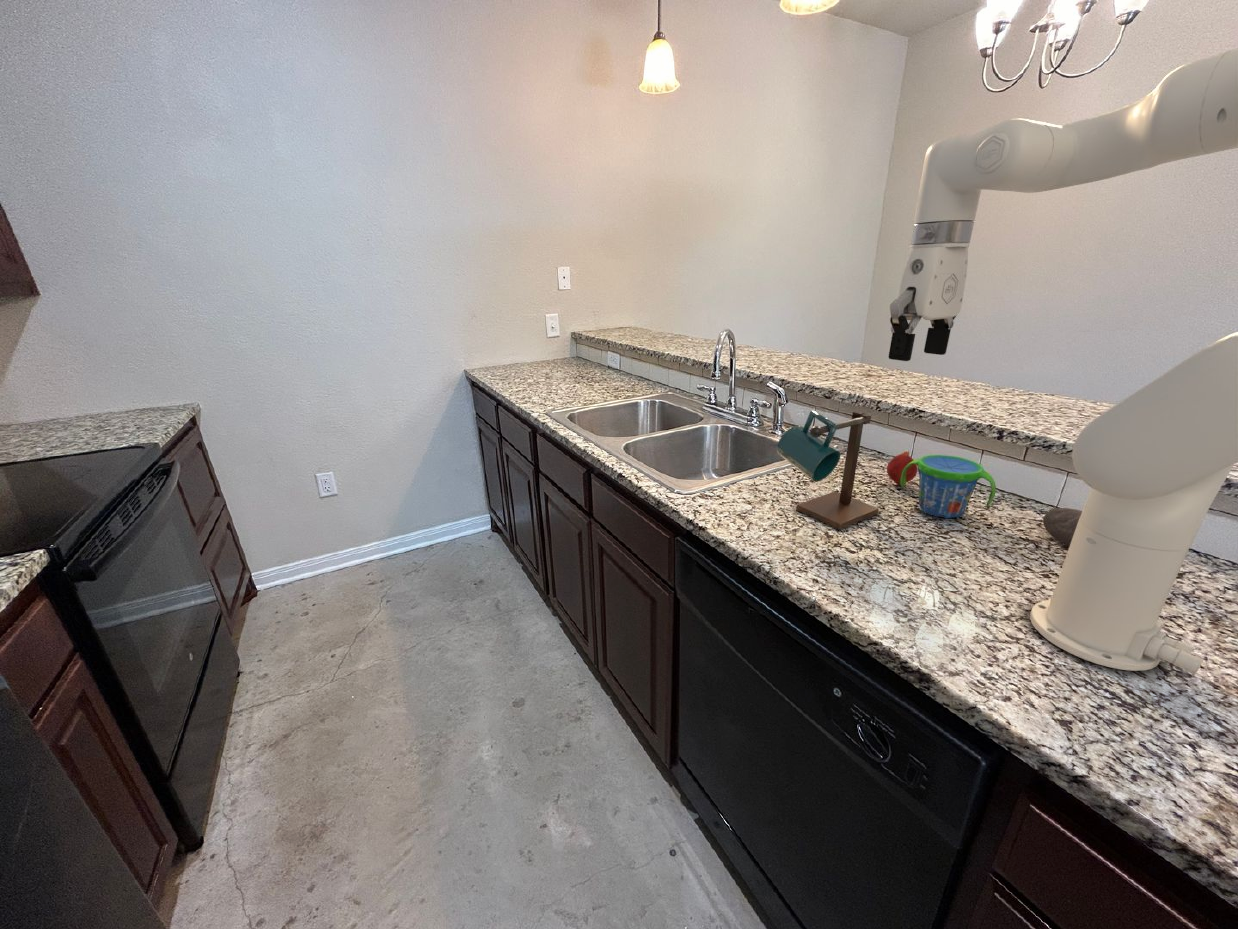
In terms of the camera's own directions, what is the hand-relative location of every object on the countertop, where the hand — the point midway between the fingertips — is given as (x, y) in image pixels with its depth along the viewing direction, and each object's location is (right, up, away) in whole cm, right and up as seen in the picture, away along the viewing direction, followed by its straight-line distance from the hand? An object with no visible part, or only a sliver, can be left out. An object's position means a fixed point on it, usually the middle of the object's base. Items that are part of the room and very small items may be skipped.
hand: (917, 356), depth 78 cm
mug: (-14, -11, +16) cm, 24 cm away
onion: (+16, -22, +33) cm, 43 cm away
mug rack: (-6, -27, +20) cm, 34 cm away
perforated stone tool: (+31, -32, +6) cm, 45 cm away
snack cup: (+17, -26, +21) cm, 38 cm away
